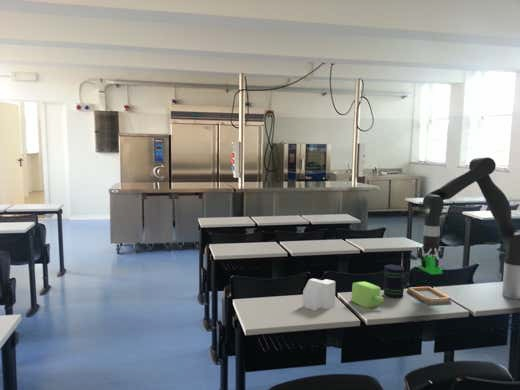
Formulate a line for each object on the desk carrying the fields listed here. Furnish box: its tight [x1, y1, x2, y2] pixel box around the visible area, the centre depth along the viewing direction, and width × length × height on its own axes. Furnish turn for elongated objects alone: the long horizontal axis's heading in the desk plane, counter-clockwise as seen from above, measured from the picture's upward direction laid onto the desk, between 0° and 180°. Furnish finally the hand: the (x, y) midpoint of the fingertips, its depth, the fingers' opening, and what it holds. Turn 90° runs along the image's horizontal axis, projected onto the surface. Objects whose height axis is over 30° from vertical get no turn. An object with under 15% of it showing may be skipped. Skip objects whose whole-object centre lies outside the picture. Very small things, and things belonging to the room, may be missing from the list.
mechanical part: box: [417, 256, 443, 275], centre depth 211 cm, size 12×6×8 cm, turn 9°
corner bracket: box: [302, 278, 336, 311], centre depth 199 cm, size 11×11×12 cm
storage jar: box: [383, 264, 405, 299], centre depth 215 cm, size 10×10×15 cm
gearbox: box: [351, 281, 384, 309], centre depth 203 cm, size 18×10×10 cm, turn 30°
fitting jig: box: [406, 285, 452, 306], centre depth 213 cm, size 12×20×2 cm, turn 11°
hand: (429, 266), depth 211 cm, fingers closed on mechanical part, 6 cm apart
